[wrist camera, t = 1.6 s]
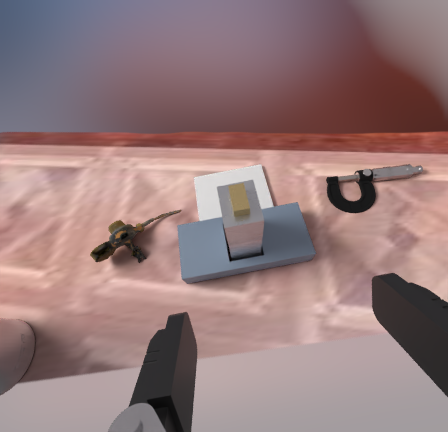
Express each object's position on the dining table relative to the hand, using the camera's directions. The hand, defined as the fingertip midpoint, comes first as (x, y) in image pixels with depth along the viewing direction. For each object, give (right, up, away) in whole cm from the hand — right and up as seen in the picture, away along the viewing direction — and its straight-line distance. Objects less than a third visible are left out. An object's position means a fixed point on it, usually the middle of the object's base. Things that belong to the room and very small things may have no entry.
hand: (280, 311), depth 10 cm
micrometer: (+22, +8, +28) cm, 37 cm away
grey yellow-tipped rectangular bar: (0, 0, +26) cm, 26 cm away
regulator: (-16, +1, +29) cm, 33 cm away
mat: (-1, +8, +30) cm, 31 cm away
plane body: (0, 0, +26) cm, 26 cm away
